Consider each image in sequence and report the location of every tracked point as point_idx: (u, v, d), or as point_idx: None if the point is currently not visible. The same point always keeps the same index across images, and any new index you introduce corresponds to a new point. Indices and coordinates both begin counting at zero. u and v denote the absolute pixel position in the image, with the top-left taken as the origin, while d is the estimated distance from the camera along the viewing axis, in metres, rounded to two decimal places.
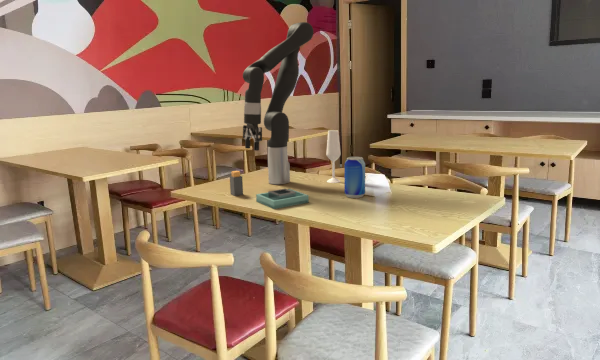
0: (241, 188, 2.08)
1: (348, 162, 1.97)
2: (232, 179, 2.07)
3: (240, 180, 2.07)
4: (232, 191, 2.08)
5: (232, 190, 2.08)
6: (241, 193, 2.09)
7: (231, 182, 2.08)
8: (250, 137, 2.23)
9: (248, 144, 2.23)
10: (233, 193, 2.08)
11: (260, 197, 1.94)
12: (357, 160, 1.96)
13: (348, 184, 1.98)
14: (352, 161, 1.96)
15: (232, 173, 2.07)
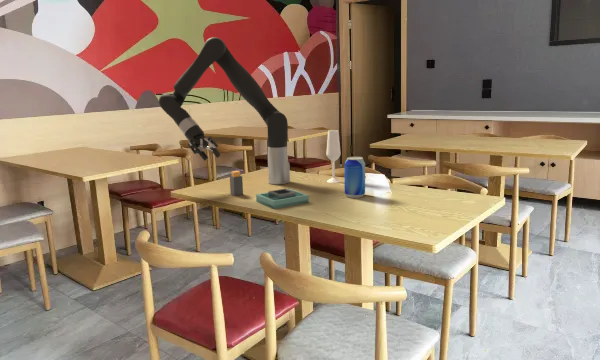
0: (241, 188, 2.08)
1: (348, 162, 1.97)
2: (232, 179, 2.07)
3: (240, 180, 2.07)
4: (232, 191, 2.08)
5: (232, 190, 2.08)
6: (241, 193, 2.09)
7: (231, 182, 2.08)
8: (212, 146, 2.15)
9: (216, 153, 2.16)
10: (233, 193, 2.08)
11: (260, 197, 1.94)
12: (357, 160, 1.96)
13: (348, 184, 1.98)
14: (352, 161, 1.96)
15: (232, 173, 2.07)
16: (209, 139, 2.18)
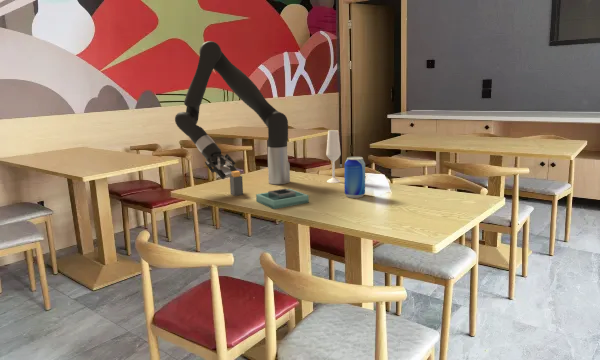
0: (241, 188, 2.08)
1: (348, 162, 1.97)
2: (232, 179, 2.07)
3: (240, 180, 2.07)
4: (232, 191, 2.08)
5: (232, 190, 2.08)
6: (241, 193, 2.09)
7: (231, 182, 2.08)
8: (229, 164, 2.13)
9: (233, 170, 2.13)
10: (233, 193, 2.08)
11: (260, 197, 1.94)
12: (357, 160, 1.96)
13: (348, 184, 1.98)
14: (352, 161, 1.96)
15: (232, 173, 2.07)
16: (226, 156, 2.16)
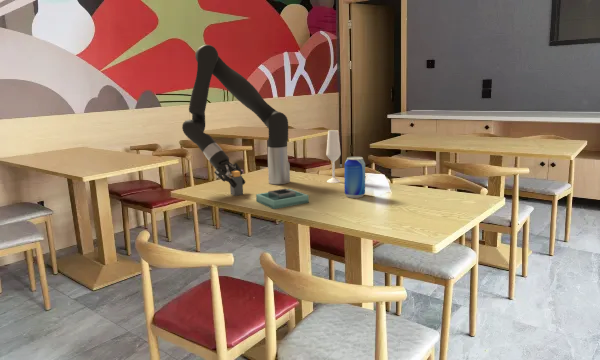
0: (241, 188, 2.08)
1: (348, 162, 1.97)
2: None
3: (240, 180, 2.07)
4: (232, 191, 2.08)
5: (232, 190, 2.08)
6: (241, 193, 2.09)
7: None
8: None
9: None
10: (233, 193, 2.08)
11: (260, 197, 1.94)
12: (357, 160, 1.96)
13: (348, 184, 1.98)
14: (352, 161, 1.96)
15: (232, 173, 2.07)
16: (235, 165, 2.14)
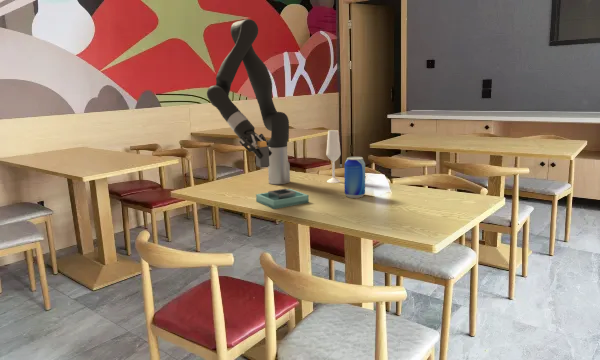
0: (267, 159, 1.96)
1: (348, 162, 1.97)
2: None
3: (266, 151, 1.95)
4: (258, 162, 1.96)
5: (257, 161, 1.97)
6: (267, 164, 1.97)
7: None
8: None
9: None
10: (259, 164, 1.96)
11: (260, 197, 1.94)
12: (357, 160, 1.96)
13: (348, 184, 1.98)
14: (352, 161, 1.96)
15: (258, 143, 1.95)
16: (260, 136, 2.02)
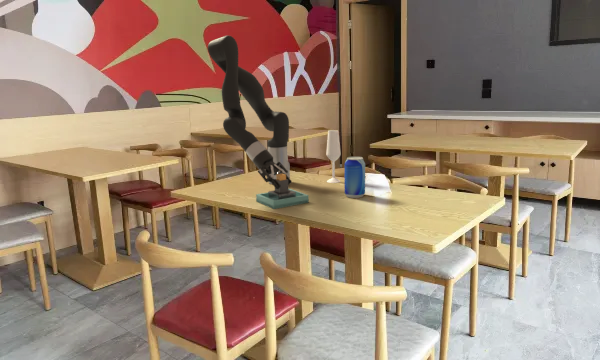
0: (287, 192, 1.94)
1: (348, 162, 1.97)
2: None
3: (286, 184, 1.93)
4: None
5: None
6: None
7: None
8: (282, 173, 1.97)
9: None
10: None
11: (260, 197, 1.94)
12: (357, 160, 1.96)
13: (348, 184, 1.98)
14: (352, 161, 1.96)
15: (277, 176, 1.93)
16: (278, 164, 2.00)
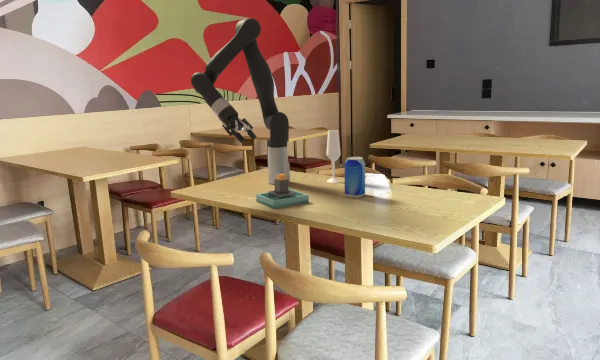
0: (287, 192, 1.94)
1: (348, 162, 1.97)
2: (278, 183, 1.92)
3: (286, 184, 1.93)
4: None
5: None
6: None
7: (276, 186, 1.93)
8: (247, 128, 2.03)
9: (251, 134, 2.03)
10: None
11: (260, 197, 1.94)
12: (357, 160, 1.96)
13: (348, 184, 1.98)
14: (352, 161, 1.96)
15: (277, 176, 1.93)
16: (243, 120, 2.06)
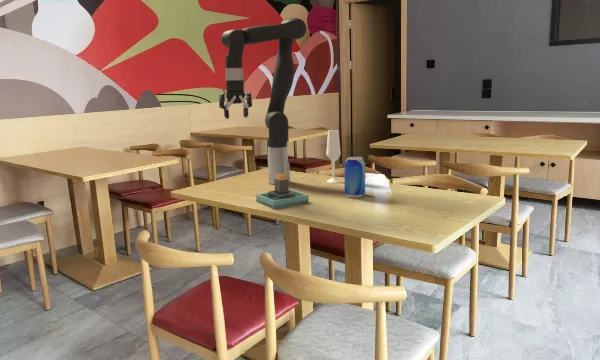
0: (287, 192, 1.94)
1: (348, 162, 1.97)
2: (278, 183, 1.92)
3: (286, 184, 1.93)
4: None
5: None
6: None
7: (276, 186, 1.93)
8: (244, 105, 2.09)
9: (244, 112, 2.11)
10: None
11: (260, 197, 1.94)
12: (357, 160, 1.96)
13: (348, 184, 1.98)
14: (352, 161, 1.96)
15: (277, 176, 1.93)
16: (248, 95, 2.10)
